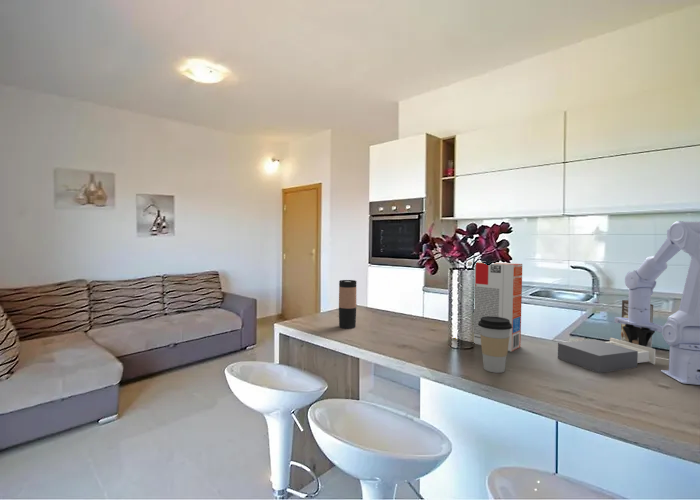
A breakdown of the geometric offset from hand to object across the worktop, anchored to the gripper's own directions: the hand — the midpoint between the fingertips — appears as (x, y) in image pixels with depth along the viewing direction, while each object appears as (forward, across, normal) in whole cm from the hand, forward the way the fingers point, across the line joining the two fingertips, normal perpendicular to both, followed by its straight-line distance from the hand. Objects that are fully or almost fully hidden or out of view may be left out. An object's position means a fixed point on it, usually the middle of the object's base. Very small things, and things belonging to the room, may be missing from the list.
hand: (637, 349), depth 123 cm
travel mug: (+3, -67, -79) cm, 104 cm away
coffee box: (+3, -10, +15) cm, 19 cm away
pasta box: (+3, -29, -38) cm, 48 cm away
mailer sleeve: (+3, 0, -19) cm, 19 cm away
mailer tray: (+2, 0, -9) cm, 9 cm away
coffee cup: (+3, -4, -54) cm, 55 cm away
